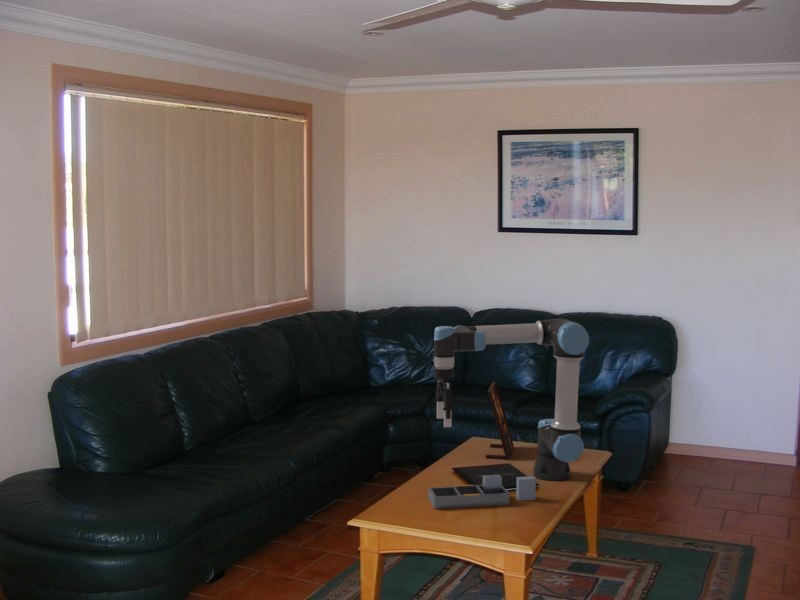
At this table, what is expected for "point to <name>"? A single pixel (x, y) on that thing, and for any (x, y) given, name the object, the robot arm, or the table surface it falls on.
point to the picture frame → (500, 424)
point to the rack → (470, 494)
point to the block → (525, 488)
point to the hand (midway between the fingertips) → (444, 422)
